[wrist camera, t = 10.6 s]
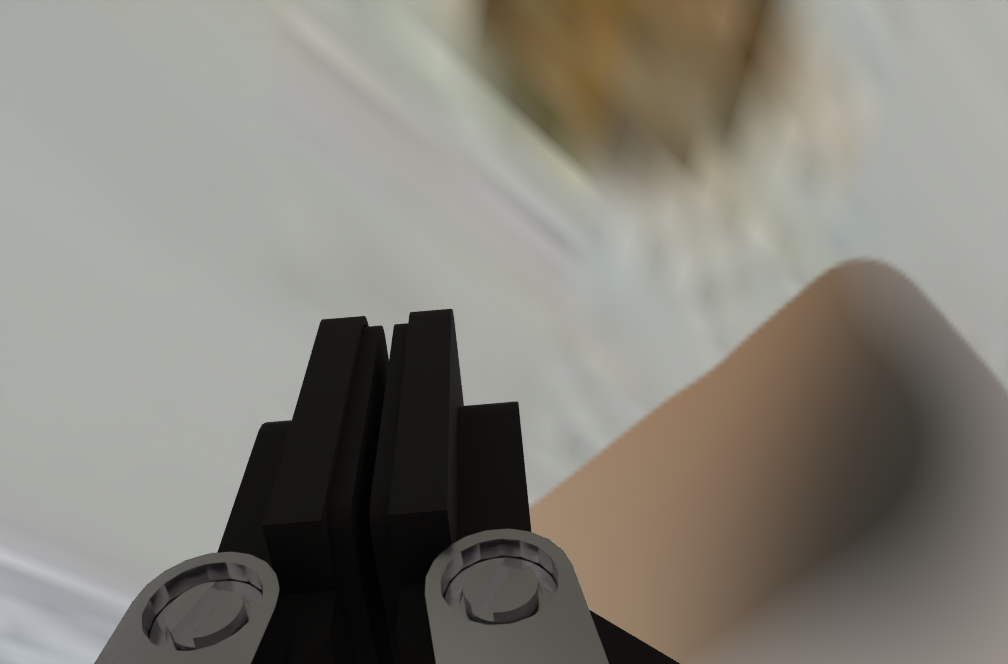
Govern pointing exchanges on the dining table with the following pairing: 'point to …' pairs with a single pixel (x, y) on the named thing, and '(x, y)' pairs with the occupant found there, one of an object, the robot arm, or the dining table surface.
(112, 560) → the dining table surface
